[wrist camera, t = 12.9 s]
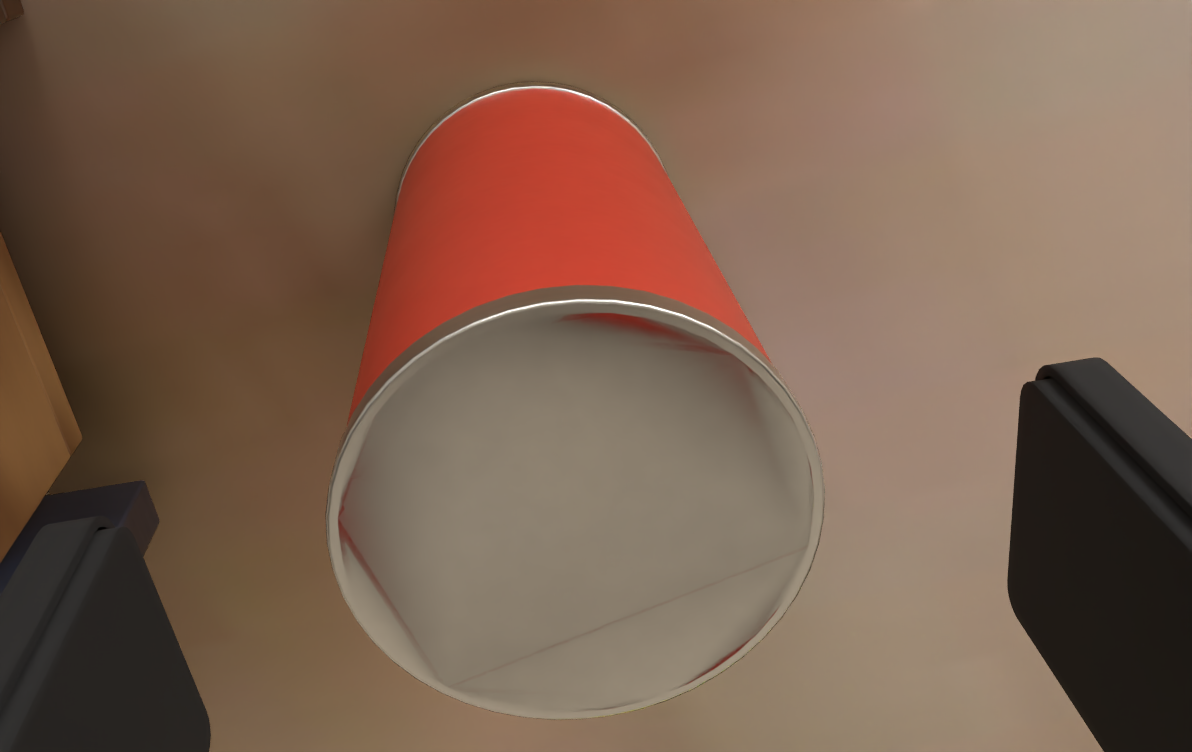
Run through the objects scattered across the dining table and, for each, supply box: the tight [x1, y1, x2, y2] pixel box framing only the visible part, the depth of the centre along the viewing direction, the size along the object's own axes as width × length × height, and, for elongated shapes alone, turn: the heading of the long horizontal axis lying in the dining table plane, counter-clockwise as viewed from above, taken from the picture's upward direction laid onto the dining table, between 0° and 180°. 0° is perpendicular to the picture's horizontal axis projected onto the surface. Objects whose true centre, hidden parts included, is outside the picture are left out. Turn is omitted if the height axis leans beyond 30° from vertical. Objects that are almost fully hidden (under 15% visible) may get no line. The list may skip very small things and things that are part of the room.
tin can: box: [326, 82, 825, 720], centre depth 19 cm, size 6×6×12 cm
